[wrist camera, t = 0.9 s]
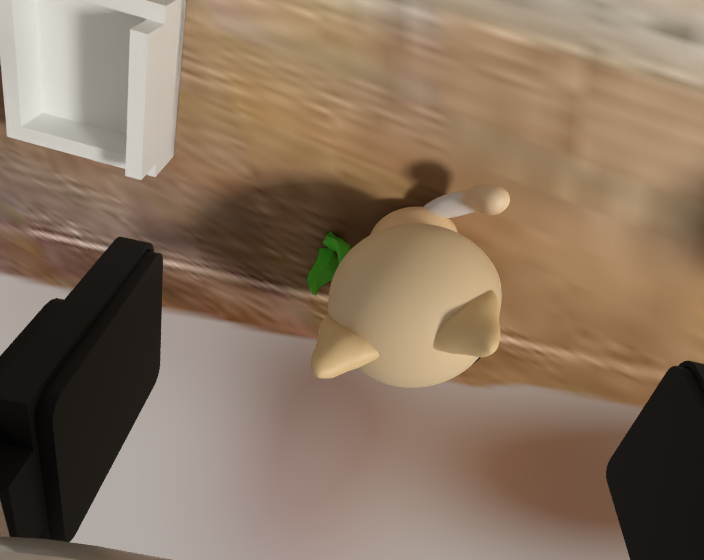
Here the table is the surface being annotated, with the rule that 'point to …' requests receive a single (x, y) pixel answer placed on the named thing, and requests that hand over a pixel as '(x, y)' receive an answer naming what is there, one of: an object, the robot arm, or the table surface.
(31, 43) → the white square bin
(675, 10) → the table surface
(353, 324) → the cream toy figurine
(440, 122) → the table surface
